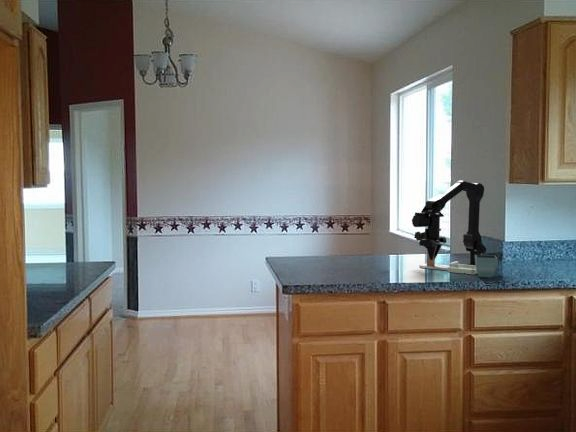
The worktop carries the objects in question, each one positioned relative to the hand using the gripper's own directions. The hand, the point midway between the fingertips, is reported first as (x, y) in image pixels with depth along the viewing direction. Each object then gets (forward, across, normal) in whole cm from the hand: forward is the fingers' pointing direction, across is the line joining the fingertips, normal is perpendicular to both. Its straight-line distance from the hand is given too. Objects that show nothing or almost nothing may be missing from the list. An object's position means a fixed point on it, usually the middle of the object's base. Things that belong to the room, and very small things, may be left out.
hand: (432, 259), depth 297 cm
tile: (+4, 0, +15) cm, 15 cm away
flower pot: (+4, +9, +28) cm, 30 cm away
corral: (+4, 0, +16) cm, 16 cm away
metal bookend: (+4, 0, +3) cm, 5 cm away
